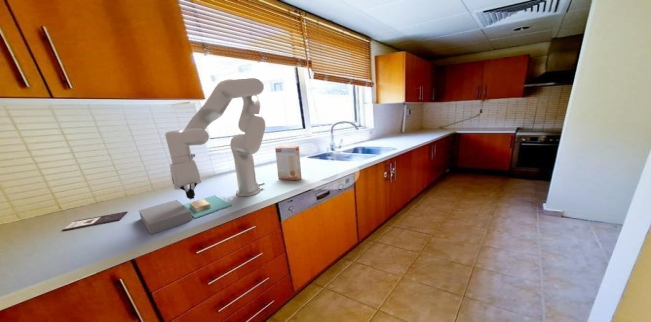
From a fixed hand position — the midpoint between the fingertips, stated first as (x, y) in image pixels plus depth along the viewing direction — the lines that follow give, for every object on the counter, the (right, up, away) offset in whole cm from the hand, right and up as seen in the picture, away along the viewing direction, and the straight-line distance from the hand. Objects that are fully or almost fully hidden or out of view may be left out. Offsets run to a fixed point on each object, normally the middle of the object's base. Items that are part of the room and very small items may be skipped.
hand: (191, 198), depth 100 cm
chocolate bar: (-38, -10, -5) cm, 39 cm away
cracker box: (+38, +5, +42) cm, 57 cm away
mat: (+4, -5, +5) cm, 8 cm away
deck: (-7, -8, -6) cm, 12 cm away
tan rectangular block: (+2, -3, +2) cm, 4 cm away
